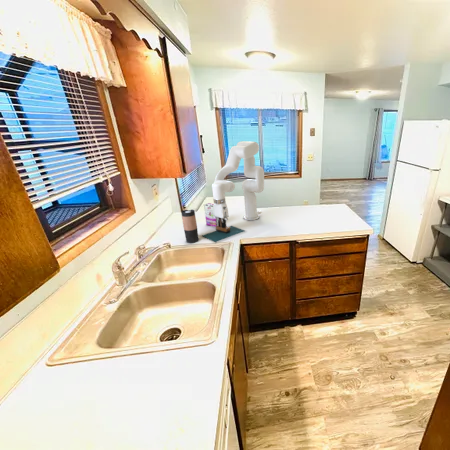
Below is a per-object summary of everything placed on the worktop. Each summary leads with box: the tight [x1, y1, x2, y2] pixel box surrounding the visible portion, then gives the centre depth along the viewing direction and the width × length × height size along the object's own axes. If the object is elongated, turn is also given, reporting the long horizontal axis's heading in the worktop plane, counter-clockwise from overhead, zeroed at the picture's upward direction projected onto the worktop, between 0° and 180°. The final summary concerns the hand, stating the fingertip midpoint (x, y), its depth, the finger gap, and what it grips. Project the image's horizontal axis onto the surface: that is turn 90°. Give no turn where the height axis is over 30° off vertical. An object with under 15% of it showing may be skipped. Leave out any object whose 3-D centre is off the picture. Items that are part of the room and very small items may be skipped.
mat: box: [201, 225, 246, 243], centre depth 164 cm, size 24×16×1 cm, turn 142°
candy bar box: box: [203, 202, 218, 228], centre depth 177 cm, size 11×5×16 cm, turn 62°
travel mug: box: [180, 209, 199, 244], centre depth 150 cm, size 8×8×20 cm
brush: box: [215, 218, 230, 234], centre depth 165 cm, size 4×10×10 cm, turn 61°
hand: (222, 226), depth 165 cm, fingers closed on brush, 3 cm apart
